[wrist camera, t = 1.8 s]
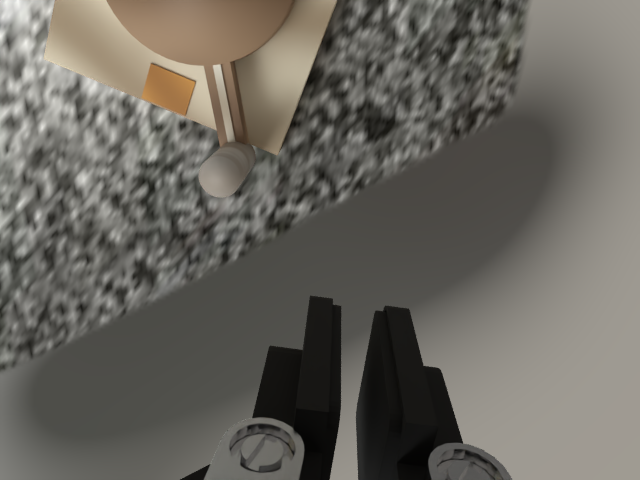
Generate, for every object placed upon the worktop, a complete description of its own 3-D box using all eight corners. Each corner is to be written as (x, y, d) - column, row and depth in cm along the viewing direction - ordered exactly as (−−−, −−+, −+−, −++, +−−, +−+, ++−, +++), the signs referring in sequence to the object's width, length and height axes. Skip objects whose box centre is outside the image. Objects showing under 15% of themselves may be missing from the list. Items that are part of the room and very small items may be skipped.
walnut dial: (80, -139, 25) (14, -184, 20) (284, -176, 24) (268, -233, 19) (160, 181, 31) (125, 209, 26) (328, 160, 30) (325, 185, 25)
